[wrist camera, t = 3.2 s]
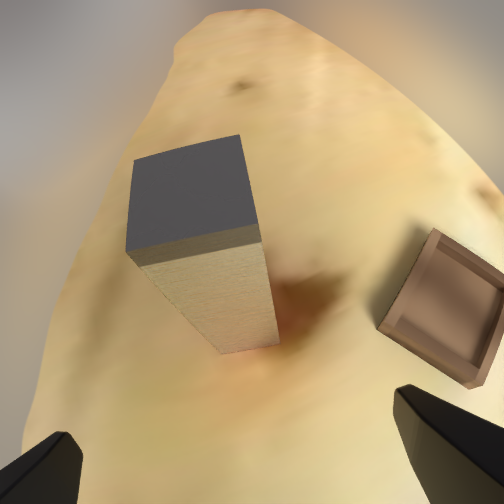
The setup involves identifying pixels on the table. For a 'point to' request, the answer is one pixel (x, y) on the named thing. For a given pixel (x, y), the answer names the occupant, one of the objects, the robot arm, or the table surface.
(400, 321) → the tray
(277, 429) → the table surface
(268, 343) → the brushed steel post
